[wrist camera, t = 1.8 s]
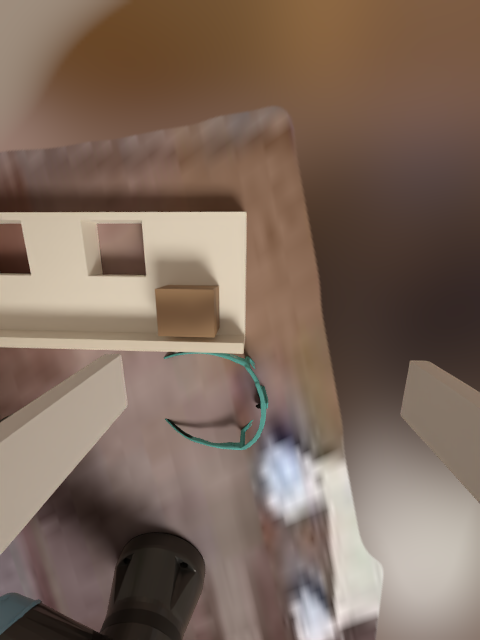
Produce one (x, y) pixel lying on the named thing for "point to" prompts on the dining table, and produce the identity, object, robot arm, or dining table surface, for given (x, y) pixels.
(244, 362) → the sunglasses
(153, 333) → the box
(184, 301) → the block
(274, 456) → the dining table surface
